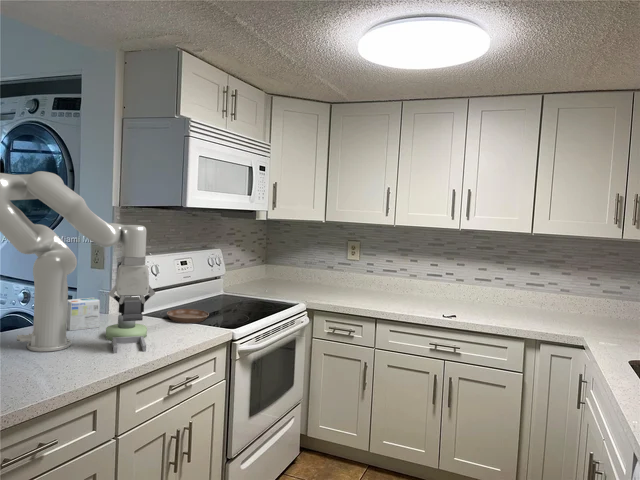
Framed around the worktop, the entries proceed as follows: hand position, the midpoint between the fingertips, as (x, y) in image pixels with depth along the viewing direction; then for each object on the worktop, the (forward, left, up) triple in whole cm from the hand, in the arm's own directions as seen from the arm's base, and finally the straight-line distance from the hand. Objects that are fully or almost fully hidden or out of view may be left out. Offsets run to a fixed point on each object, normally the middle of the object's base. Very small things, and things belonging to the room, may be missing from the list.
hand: (131, 314), depth 158 cm
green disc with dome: (0, +8, -12) cm, 14 cm away
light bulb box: (-15, +29, -12) cm, 35 cm away
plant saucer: (+26, +36, -12) cm, 46 cm away
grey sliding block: (0, 0, -1) cm, 1 cm away
